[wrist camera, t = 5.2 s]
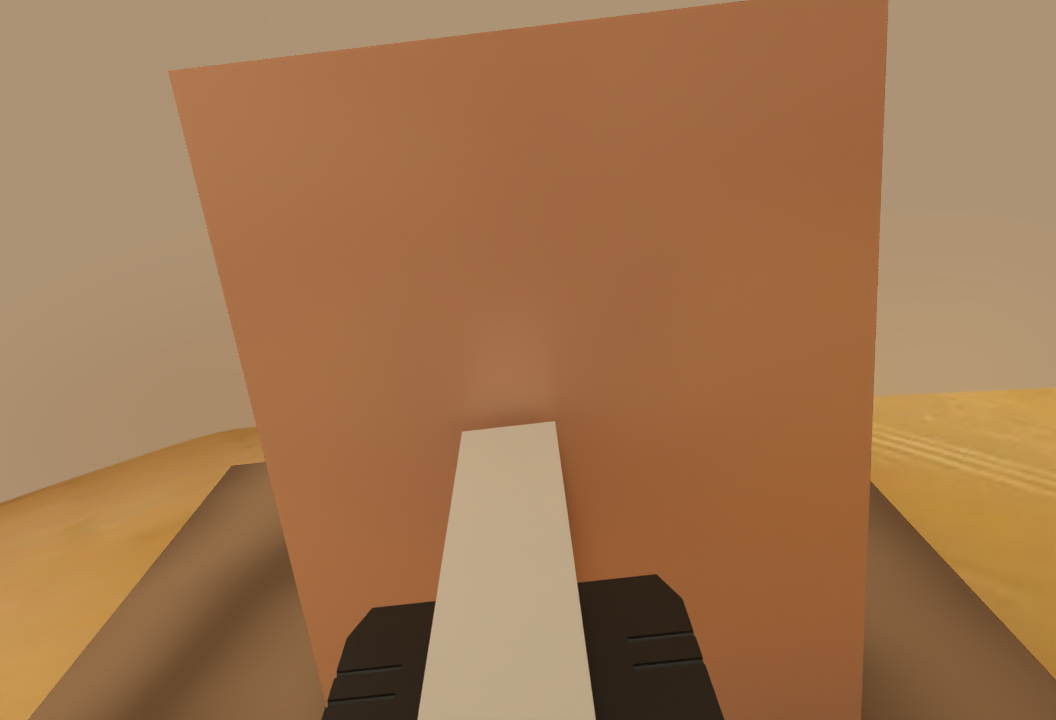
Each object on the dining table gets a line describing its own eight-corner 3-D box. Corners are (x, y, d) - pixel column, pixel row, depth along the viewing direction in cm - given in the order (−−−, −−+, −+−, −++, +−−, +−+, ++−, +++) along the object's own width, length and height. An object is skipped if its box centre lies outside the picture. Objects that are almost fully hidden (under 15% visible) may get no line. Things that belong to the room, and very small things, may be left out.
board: (799, 431, 32) (799, 378, 31) (1275, 986, 12) (1309, 875, 11) (238, 490, 32) (225, 440, 31) (-217, 1112, 12) (-285, 1016, 12)
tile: (818, 692, 17) (828, 3, 12) (858, 771, 15) (889, -18, 10) (374, 735, 17) (224, 76, 12) (354, 818, 15) (167, 70, 10)
